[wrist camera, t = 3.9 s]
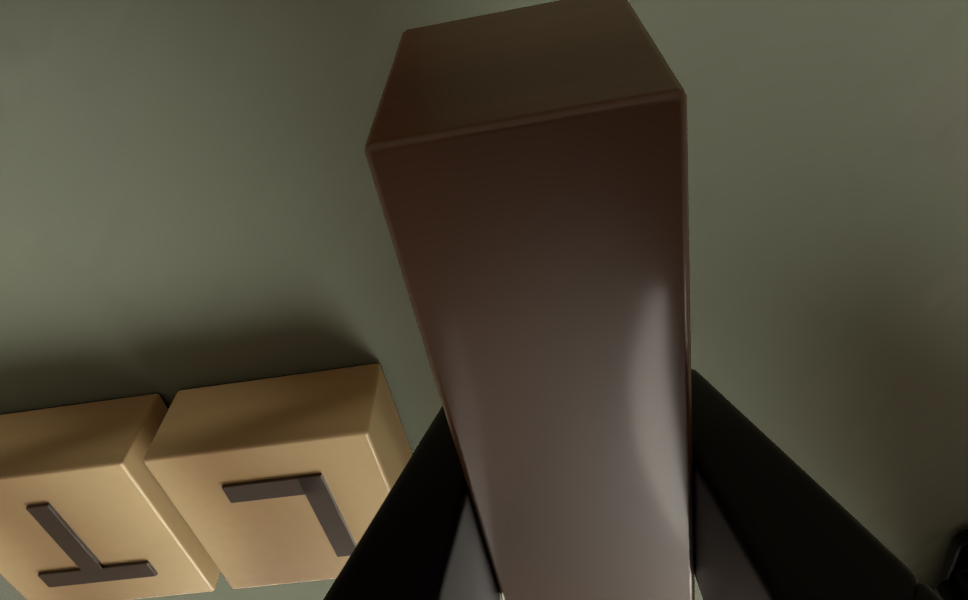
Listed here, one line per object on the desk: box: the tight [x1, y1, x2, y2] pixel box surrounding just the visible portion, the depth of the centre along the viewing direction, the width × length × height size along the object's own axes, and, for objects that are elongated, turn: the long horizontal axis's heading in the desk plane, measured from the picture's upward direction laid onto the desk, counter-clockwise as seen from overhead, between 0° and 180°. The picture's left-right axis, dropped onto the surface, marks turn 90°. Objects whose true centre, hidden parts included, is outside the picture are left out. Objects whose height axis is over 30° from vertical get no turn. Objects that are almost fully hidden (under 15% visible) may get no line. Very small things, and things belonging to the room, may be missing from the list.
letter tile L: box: [144, 364, 413, 589], centre depth 19 cm, size 6×6×2 cm
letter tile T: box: [0, 394, 220, 600], centre depth 19 cm, size 6×6×2 cm
